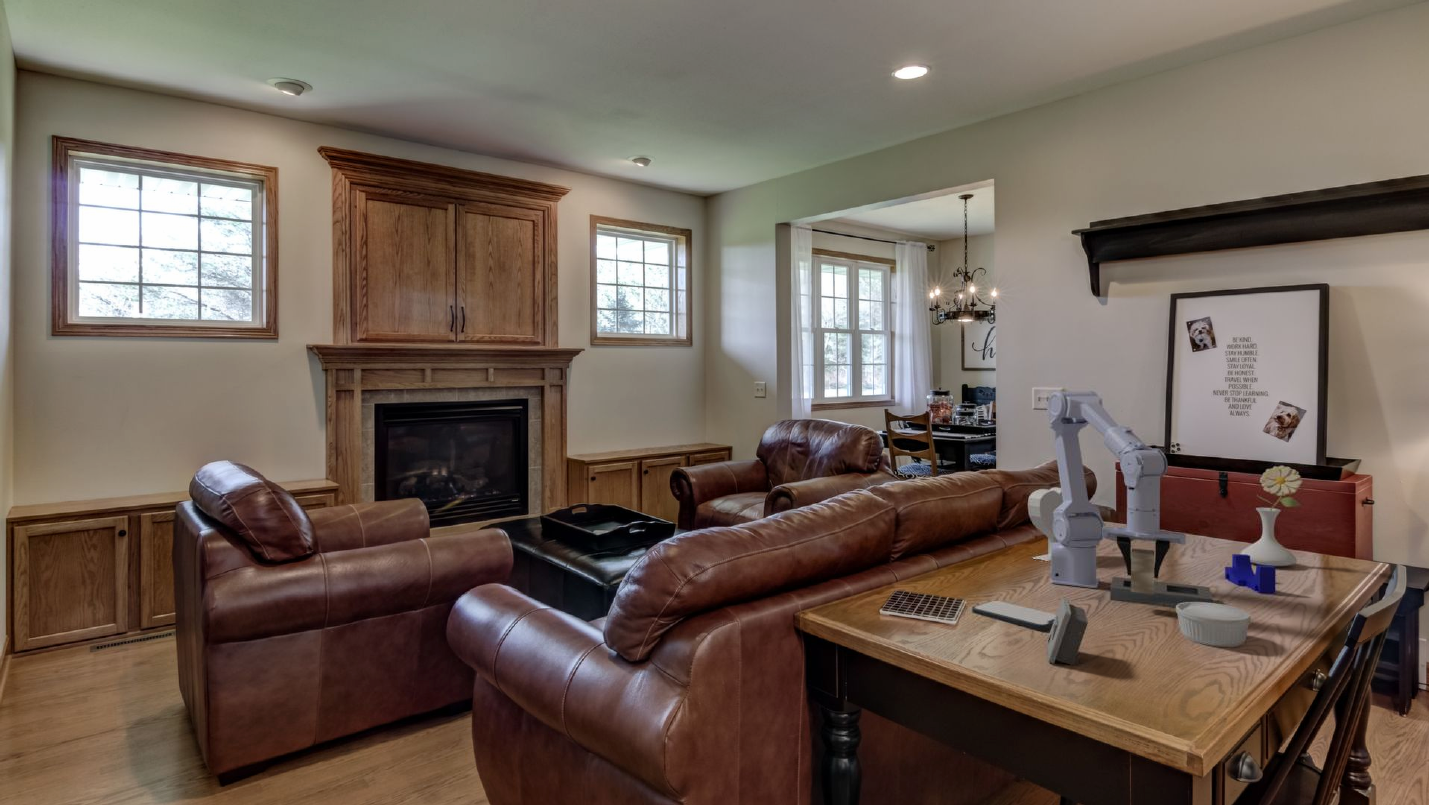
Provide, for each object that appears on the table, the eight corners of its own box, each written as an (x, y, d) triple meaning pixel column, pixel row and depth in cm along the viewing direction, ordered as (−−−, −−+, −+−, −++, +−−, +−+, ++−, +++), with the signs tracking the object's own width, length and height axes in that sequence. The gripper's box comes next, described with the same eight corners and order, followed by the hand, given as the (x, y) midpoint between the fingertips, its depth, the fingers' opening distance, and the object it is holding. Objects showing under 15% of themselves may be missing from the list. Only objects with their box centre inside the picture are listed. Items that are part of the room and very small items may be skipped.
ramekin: (1180, 624, 142) (1180, 597, 142) (1252, 637, 135) (1252, 608, 135) (1171, 641, 133) (1171, 612, 133) (1247, 655, 126) (1248, 624, 126)
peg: (1131, 591, 150) (1131, 552, 150) (1131, 586, 153) (1131, 548, 153) (1154, 594, 148) (1154, 554, 148) (1154, 589, 151) (1154, 550, 151)
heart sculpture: (1063, 551, 202) (1063, 485, 201) (1080, 555, 197) (1080, 487, 197) (1025, 559, 194) (1025, 490, 194) (1042, 563, 190) (1042, 492, 189)
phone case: (969, 615, 151) (1043, 634, 138) (969, 607, 151) (1043, 626, 138) (995, 607, 156) (1069, 625, 143) (994, 599, 156) (1069, 616, 143)
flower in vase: (1229, 561, 189) (1230, 463, 188) (1256, 556, 193) (1257, 461, 193) (1287, 573, 177) (1288, 468, 176) (1314, 568, 182) (1315, 466, 181)
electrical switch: (1046, 645, 131) (1051, 594, 131) (1078, 652, 130) (1084, 600, 129) (1048, 665, 123) (1054, 610, 122) (1082, 672, 121) (1089, 616, 120)
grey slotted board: (1110, 599, 158) (1110, 587, 158) (1112, 587, 167) (1112, 576, 167) (1212, 611, 149) (1212, 599, 149) (1209, 599, 158) (1209, 587, 157)
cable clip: (1224, 579, 173) (1225, 553, 173) (1246, 580, 172) (1246, 554, 172) (1252, 594, 161) (1252, 566, 161) (1275, 595, 161) (1275, 567, 160)
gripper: (1101, 509, 150) (1101, 575, 151) (1186, 515, 143) (1185, 585, 144) (1103, 503, 157) (1103, 568, 157) (1185, 509, 149) (1184, 576, 150)
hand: (1142, 575), depth 151 cm, fingers closed on peg, 4 cm apart
